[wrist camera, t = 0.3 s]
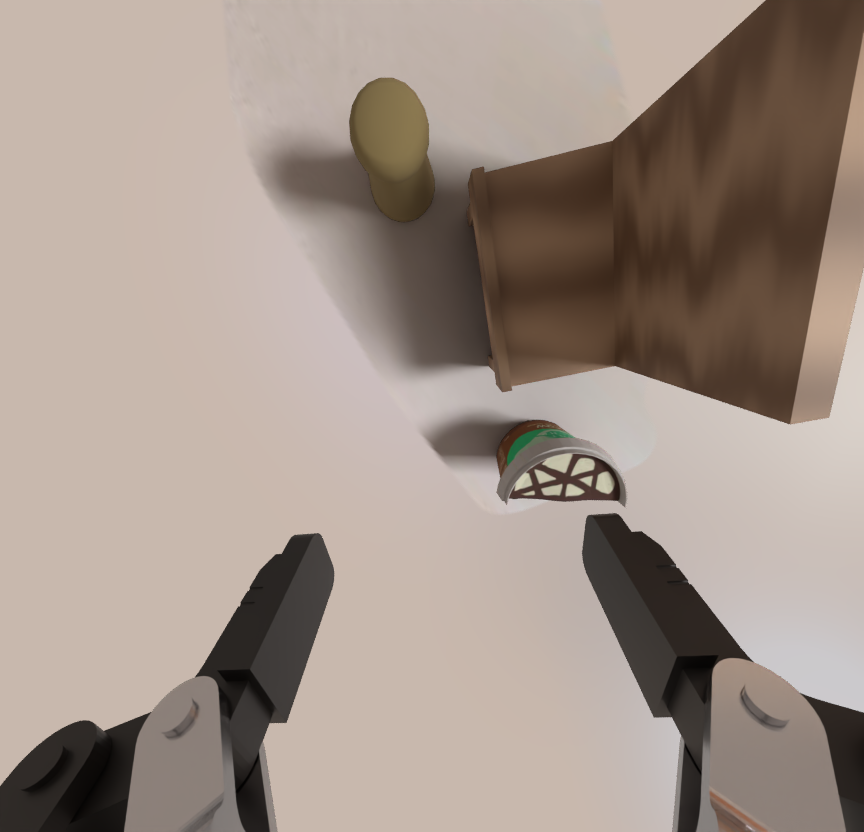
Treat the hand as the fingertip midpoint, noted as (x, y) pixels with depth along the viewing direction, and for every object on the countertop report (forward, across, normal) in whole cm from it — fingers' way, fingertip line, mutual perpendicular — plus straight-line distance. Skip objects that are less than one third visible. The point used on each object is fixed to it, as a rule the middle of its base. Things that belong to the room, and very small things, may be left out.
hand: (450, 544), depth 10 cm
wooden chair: (+28, -8, -5) cm, 30 cm away
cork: (+29, +2, -15) cm, 33 cm away
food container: (+27, -10, +12) cm, 31 cm away
